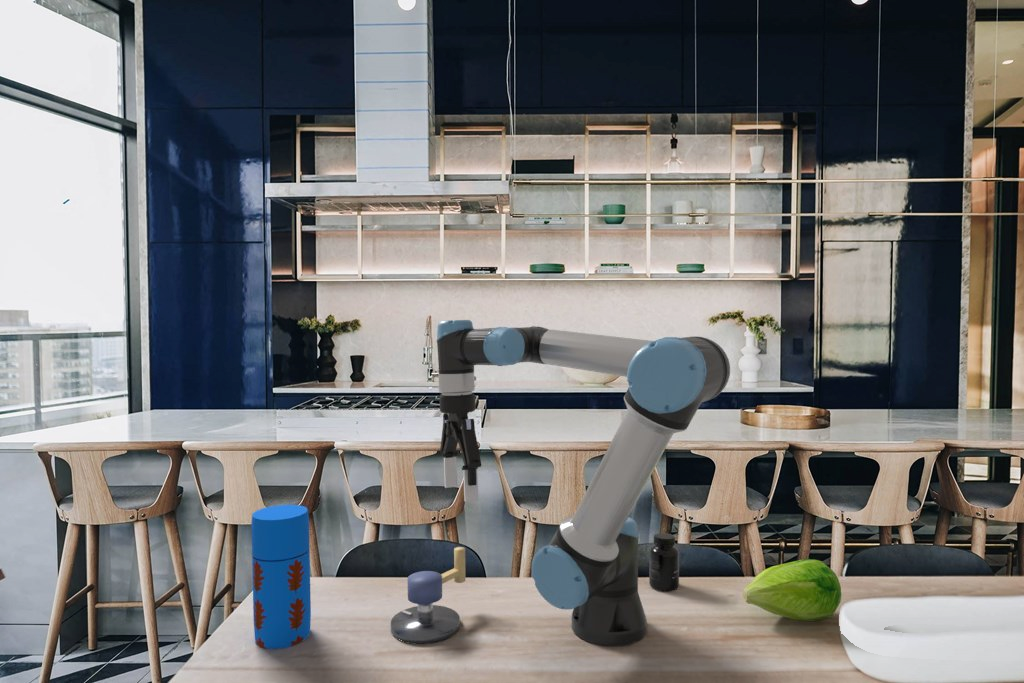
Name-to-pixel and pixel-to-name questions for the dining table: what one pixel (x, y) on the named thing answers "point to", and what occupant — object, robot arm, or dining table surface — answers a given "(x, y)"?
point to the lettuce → (796, 590)
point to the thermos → (281, 575)
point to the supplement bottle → (664, 563)
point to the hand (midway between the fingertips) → (460, 493)
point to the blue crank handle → (435, 580)
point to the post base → (425, 624)
